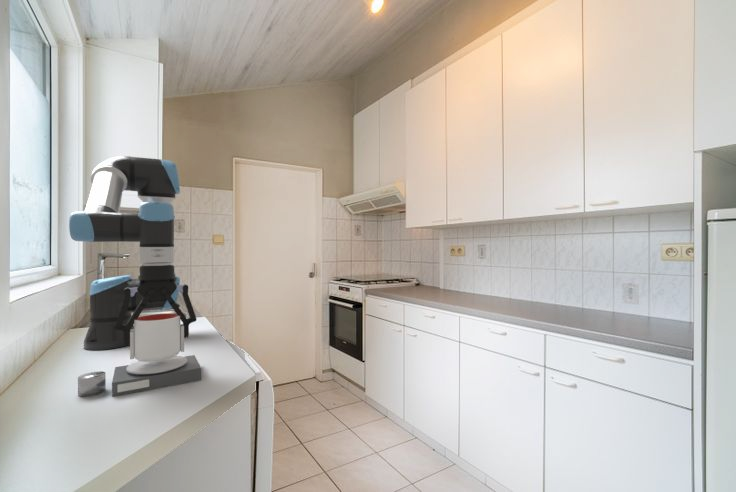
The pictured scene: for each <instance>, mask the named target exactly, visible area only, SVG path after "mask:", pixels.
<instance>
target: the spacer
mask: <svg viewBox="0 0 736 492" xmlns="http://www.w3.org/2000/svg"><path fill="white" fill-rule="evenodd" d="M106 377H107V376H106V371H101V370H100V371H92V372H87V373H84V374H80V375H79V376H78V377H77V397H79V398H87V397H89V398H90V397H94V396H97V395H98V396H99V395H100V394H103V393H105V392H106V389H107V388H106V382H107V379H106Z"/></svg>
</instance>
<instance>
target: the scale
mask: <svg viewBox="0 0 736 492" xmlns="http://www.w3.org/2000/svg"><path fill="white" fill-rule="evenodd" d="M197 381H202V367H201V365H200V363H199V361H198V359H197V358H196V356H195V355H187V356H182V355H176V356H174V357H172V358H170V359H166V360H162V361H155V362H142V361H138V360H137V361H135V362H132V363H130V364H126V365H119V366H115V368H114V372H113V377H112V380H111V397H117V396H123V395H128V394H132V393H139V392H143V391H144V390H145V391H150V390H155V388H156V389H159V388H160V387H161V388H166V387H170V386H171V385H172V386H176V385H181V384H187V383H192V382H197ZM145 391H144V392H145Z"/></svg>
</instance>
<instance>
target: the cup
mask: <svg viewBox="0 0 736 492" xmlns="http://www.w3.org/2000/svg"><path fill="white" fill-rule="evenodd" d="M180 324H181V319H180V316H178V315H177V314H176V313H155V314H148V315H147V314H146V315H142V316H141V315H140V316H139V317H138V318H137V320H134V359H135V360H137V361H142V362H155V361H162V360H166V359H170V358H172V357H174V356H178V355H179V354H180V353H181V351H180V349H181V348H180Z"/></svg>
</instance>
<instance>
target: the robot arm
mask: <svg viewBox="0 0 736 492" xmlns="http://www.w3.org/2000/svg"><path fill="white" fill-rule="evenodd" d="M179 178H180V177H179V174H178V168H177V165H176V163H174V161H171V160H166V159H162V158H151V157H150V158H149V157H139V156H129V155H121V156H115V157H110V158H108V159H106V160H104V161H102V162H100V163H99V164H98V165H96V167H94V169H93V170H92V173H91V175H90V182H91V184H92V186H91V189H90V193H89V196H88V199H87V201H86V205H85V208H84V210H81V211H73V212H71V213H70V215H69V222H68V227H69V228H68V229H69V230H68V231H69V236H70V237H71V239H72V240H73V241H74V242H75V241H76V242H88V243H96V242H97V243H100V242H101V243H103V242H105V243H107V242H108V243H109V242H111V243H112V242H113V243H115V242H121V243H122V242H124V243H128V242H129V243H130V242H131V243H133V242H135V243H138V242H139V248H138V250H139V251H138V252H139V263H140V264H142V265H140V267H139V272H138V277H137V278H133V277H132V276H131V274H126V275H118V276H113V277H112V276H111V277H106V278H100V279H95V280H93V281H92V282H91V283H90V289H89V304H90V305H89V307H90V308H89V313H90V314H89V318H90V319H89V326H88V329H87V332H86V334H85V336H84V340H83V349H84V350H87V351H101V350H111V349H116V348H117V349H118V348H122V347H126V346H129V354H130V355H129V360H133V359H135V357H134V320H137V318H138V317H140V316H141V313H142V312H149V311H163V310H170V309H173V311H174V313H175V314H177V315H178V316H180V322H182V324H181V323H180V348H181V349H180V353H184V352H185V338H189V335H190V334H189V333H190V329H189V327H190V326H189V325H191V324H192V323H195V322H197V316H196V313H195V310H194V307H193V305H192V301H191V299H190V295H189V285H188V284H185V283H184V284H180V283H181V281H180V277H179V276H176V272H175V266H174V265H173V263H174V262H175V244H174V243H175V212H174V211H175V210H174V208H175V207H174V205H172V202H174V201H175V200H176V195H180V193H181V189H180V187H181V186H180V180H179ZM124 191H125V192H126V191H128V192H129V191H131V192H137V198H138V199H139V200H141V201H142V202H141V203H140V204H139V210H138V211H139V212H138V213H129V212H128V213H125V212H121V204H122V198H123V197H122V196H123V192H124ZM179 293H180V294H181V295H182V298H183V302H184V305H185V308H186V310H187V313H188V316H189V317H186V316H185V314H184V313H183V312H182V310H181V309H180V307H179V306H178V304H177V302H178V299H179Z"/></svg>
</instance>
